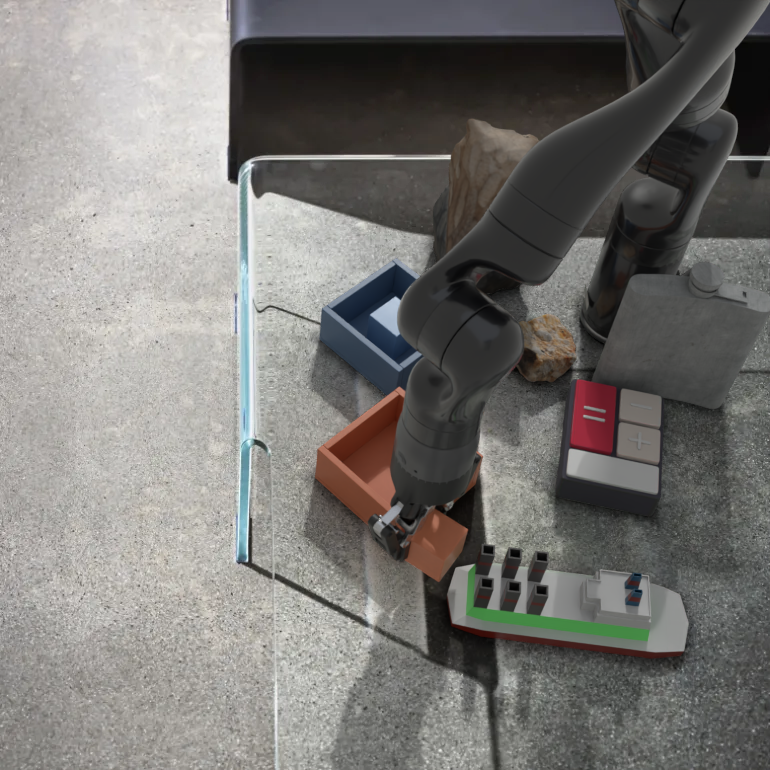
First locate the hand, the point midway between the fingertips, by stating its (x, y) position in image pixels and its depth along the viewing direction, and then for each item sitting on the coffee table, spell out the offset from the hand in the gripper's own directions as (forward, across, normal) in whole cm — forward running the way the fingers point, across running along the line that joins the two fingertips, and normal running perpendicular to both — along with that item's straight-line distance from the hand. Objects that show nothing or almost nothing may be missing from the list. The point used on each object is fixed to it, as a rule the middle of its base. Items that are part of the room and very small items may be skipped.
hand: (415, 538), depth 119 cm
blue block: (+4, +19, +22) cm, 29 cm away
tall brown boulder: (+5, +36, +24) cm, 43 cm away
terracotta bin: (+4, +6, +8) cm, 11 cm away
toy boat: (+4, +7, -15) cm, 18 cm away
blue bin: (+4, +20, +22) cm, 30 cm away
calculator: (+5, +26, -6) cm, 28 cm away
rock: (+5, +32, +9) cm, 33 cm away
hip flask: (+5, +39, -4) cm, 39 cm away
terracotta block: (+1, 0, -2) cm, 2 cm away
